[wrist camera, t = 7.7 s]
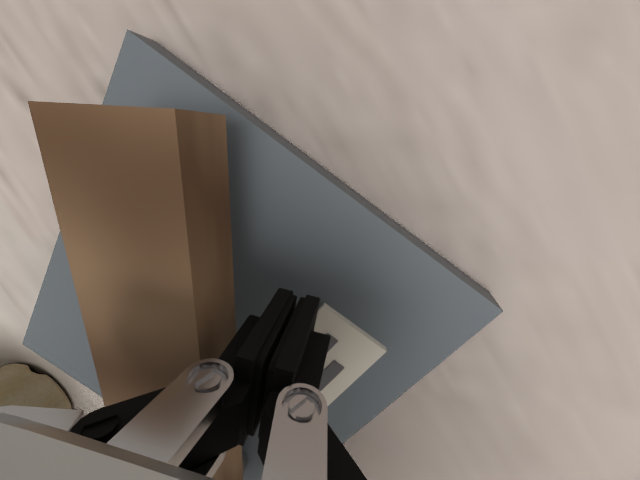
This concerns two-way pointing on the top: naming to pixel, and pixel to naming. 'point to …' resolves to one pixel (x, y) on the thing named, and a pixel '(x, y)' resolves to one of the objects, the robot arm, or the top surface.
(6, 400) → the flower pot
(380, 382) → the label board
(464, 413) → the top surface
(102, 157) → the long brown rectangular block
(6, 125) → the top surface
